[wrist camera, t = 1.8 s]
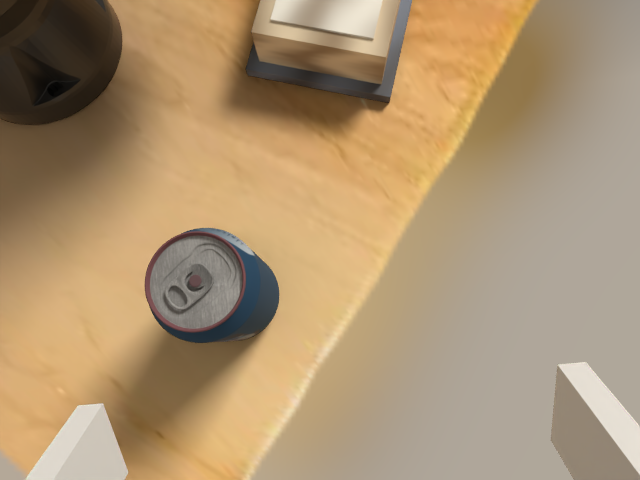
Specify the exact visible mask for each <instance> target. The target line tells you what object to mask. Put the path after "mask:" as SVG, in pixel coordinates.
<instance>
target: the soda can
mask: <svg viewBox="0 0 640 480" xmlns="http://www.w3.org/2000/svg"><path fill="white" fill-rule="evenodd" d="M145 293H146V298H147V301H148V304H149V306H150V309H151V311H152V313H153V315H154V317H155V319H156V320H157V322H158V323H159V324H160V325H161V326H162V327H163V328H164V329H165V330H166V331H167V332H169V333H170V334H172V335H173V336H175V337H177V338H179V339H182V340H185V341H189V342H195V343H207V342H224V341H239V340H245V339H248V338H251V337H253V336H255V335H257V334H258V333H260V332H261V331H262V330H263V329H265V328H266V327H267V325H268V324H269V323H270V322H271V320H272V319H273V317H274V315H275V313H276V310H277V307H278V303H279V287H278V283H277V280H276V277H275V275H274V273H273V272H272V270H271V269H270V268H269V266H268V265H267V264H266V263H265V262H264V261H262V260H261V259H260V258H259V257H258V256H257V255H256V254H255V253H254V252H253V251H252V250H251V249H250V248H249V247H248V246H247V245H246V244H245V243H244V242H243V241H242V240H240V239H239V238H238V237H236V236H234V235H233V234H231V233H228V232H226V231H223V230H219V229H214V228H199V229H193V230H190V231H186V232H184V233H182V234H180V235H177V236H175V237H173V238H171V239H170V240H168V241H167V242H166V243H165V244H163V245H162V246H161V247H160V248H159V249H158V251H157V252H156V253H155V254H154V256H153V258H152V259H151V261H150V263H149V266H148V268H147V272H146V276H145Z"/></svg>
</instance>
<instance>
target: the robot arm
mask: <svg viewBox="0 0 640 480" xmlns="http://www.w3.org/2000/svg"><path fill="white" fill-rule="evenodd" d="M121 50H122V32H121V27H120V23H119V20H118V17H117V15H116V13H115V11H114V10H113V8H112V6H111V5H110V3H109V2H108V1H107V0H0V119H2V120H5V121H8V122H12V123H18V124H43V123H49V122H53V121H57V120H60V119H63V118H65V117H68V116H70V115H72V114H74V113H76V112H77V111H79V110H81V109H82V108H84V107H85V106H87V105H88V104H89V103H90V102H92V101H93V100H94V99H95V98H96V97H97V96H98V95H99V94H100V93H101V92H102V91H103V90H104V88H105V87H106V86H107V84H108V83H109V81H110V80H111V78H112V76H113V75H114V72H115V70H116V68H117V65H118V63H119V59H120V55H121ZM551 441H552V443H553V445H554V446H555V448H556V450H557V451H558V453H559V455H560V457H561V458H562V460H563V462H564V464H565V465H566V467H567V468H568V470H569V472H570V474H571V476H572V477H573V479H574V480H640V426H639V425H638V424H637V422H636V421H635V420H634V419H633V418H632V416H631V415H630V414H629V413H628V412H627V411H626V409H625V408H624V407H623V406H622V405H621V403H620V402H619V401H618V400H617V399H616V398H615V396H614V395H613V394H612V393H611V392H610V390H609V389H608V388H607V387H606V386H605V385H604V383H603V382H602V381H601V380H600V379H599V377H598V376H597V375H596V374H595V373H594V371H593V370H592V369H591V368H590V367H589V365H588V364H587V363H586V362H581V363H570V364H558V365H557V376H556V387H555V398H554V409H553V420H552V432H551ZM127 474H128V470H127V467H126V464H125V462H124V459H123V456H122V454H121V451H120V448H119V445H118V443H117V440H116V437H115V435H114V432H113V429H112V426H111V424H110V421H109V418H108V416H107V413H106V410H105V407H104V405H103V403H101V404H89V405H78V406H77V408H76V409H75V410H74V412H73V413H72V415H71V416H70V417H69V419H68V420H67V422H66V423H65V424H64V426H63V427H62V429H61V430H60V431H59V433H58V434H57V436H56V437H55V438H54V440H53V441H52V443H51V444H50V445H49V447H48V448H47V450H46V451H45V452H44V454H43V455H42V457H41V458H40V459H39V461H38V462H37V464H36V465H35V466H34V468H33V469H32V470H31V472H30V473H29V475H28V476H27V477H26V479H25V480H125V478H126V476H127Z"/></svg>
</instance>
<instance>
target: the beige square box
mask: <svg viewBox="0 0 640 480" xmlns="http://www.w3.org/2000/svg"><path fill="white" fill-rule="evenodd" d="M411 3H412V0H260V3H259V7H258V10H257V14H256V17H255V20H254V24H253V27H252V31H251V34H252V37H253V41H254V42H253V46H252V49H251V52H250V56H249V59H248V63H247V66H246V71H247V74H248V75H249V76H254V77H259V78H264V79H269V80H275V81H280V82H285V83H290V84H295V85H300V86H305V87H310V88H316V89H321V90H326V91H331V92H336V93H341V94H346V95H351V96H356V97H362V98H367V99H372V100H377V101H382V102H387V103H389V101H390V97H391V93H392V88H393V84H394V79H395V75H396V70H397V66H398V61H399V57H400V52H401V48H402V43H403V39H404V34H405V30H406V25H407V21H408V16H409V12H410V7H411Z"/></svg>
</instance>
